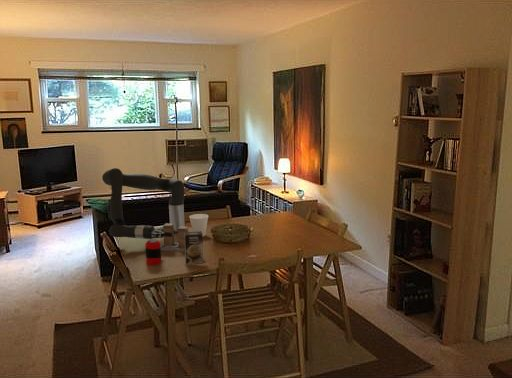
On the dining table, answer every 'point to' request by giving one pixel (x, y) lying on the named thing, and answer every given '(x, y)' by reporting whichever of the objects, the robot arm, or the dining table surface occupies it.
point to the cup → (199, 222)
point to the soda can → (153, 252)
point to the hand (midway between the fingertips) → (173, 233)
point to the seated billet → (182, 236)
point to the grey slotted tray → (172, 248)
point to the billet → (169, 240)
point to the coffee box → (193, 248)
